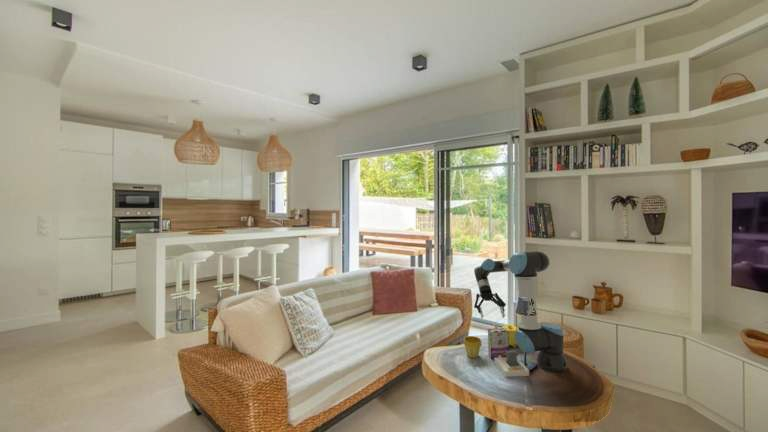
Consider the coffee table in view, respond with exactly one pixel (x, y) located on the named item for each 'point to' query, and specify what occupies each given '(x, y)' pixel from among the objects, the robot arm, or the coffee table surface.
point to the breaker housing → (511, 367)
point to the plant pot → (472, 346)
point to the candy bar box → (498, 342)
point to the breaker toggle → (512, 358)
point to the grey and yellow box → (510, 333)
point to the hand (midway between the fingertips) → (493, 317)
